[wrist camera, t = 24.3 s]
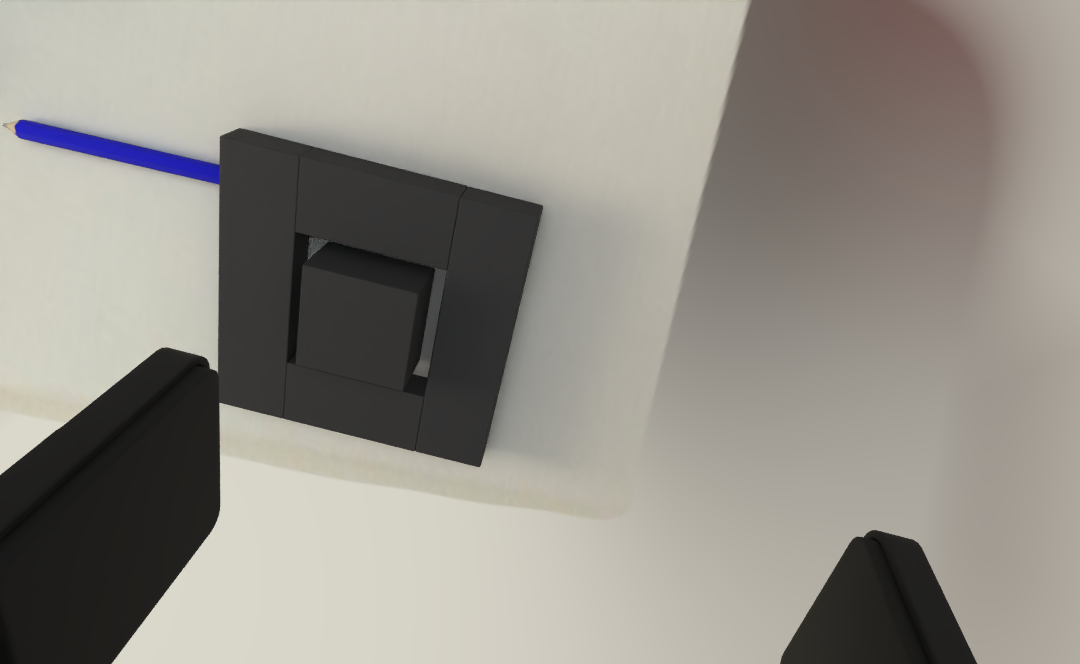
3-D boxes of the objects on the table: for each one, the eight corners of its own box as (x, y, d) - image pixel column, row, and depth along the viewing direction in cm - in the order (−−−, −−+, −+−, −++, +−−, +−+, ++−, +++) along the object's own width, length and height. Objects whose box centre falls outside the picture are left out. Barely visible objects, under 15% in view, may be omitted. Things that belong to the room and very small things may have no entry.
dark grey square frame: (543, 205, 36) (539, 217, 34) (485, 447, 43) (479, 468, 42) (239, 127, 36) (219, 135, 34) (233, 384, 43) (217, 402, 41)
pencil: (323, 187, 37) (316, 192, 36) (322, 203, 37) (315, 208, 36) (9, 114, 37) (-6, 117, 36) (11, 131, 37) (-4, 135, 36)
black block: (435, 267, 38) (418, 294, 35) (419, 360, 41) (403, 391, 38) (328, 240, 38) (302, 264, 35) (319, 335, 41) (295, 364, 38)
